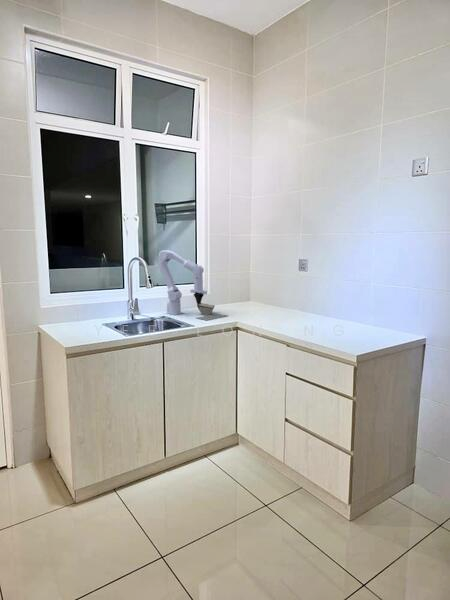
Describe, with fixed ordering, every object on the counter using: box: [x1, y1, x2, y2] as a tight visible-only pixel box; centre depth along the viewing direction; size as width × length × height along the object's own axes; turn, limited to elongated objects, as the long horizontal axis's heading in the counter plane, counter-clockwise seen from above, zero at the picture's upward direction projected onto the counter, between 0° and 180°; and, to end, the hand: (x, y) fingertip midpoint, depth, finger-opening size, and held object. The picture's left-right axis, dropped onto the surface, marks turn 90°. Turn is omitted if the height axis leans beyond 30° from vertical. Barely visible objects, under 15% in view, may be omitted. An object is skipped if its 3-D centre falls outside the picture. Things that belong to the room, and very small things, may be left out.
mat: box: [195, 313, 229, 321], centre depth 256 cm, size 10×20×1 cm, turn 136°
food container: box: [196, 302, 215, 316], centre depth 268 cm, size 12×6×10 cm
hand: (198, 303), depth 264 cm, fingers closed
